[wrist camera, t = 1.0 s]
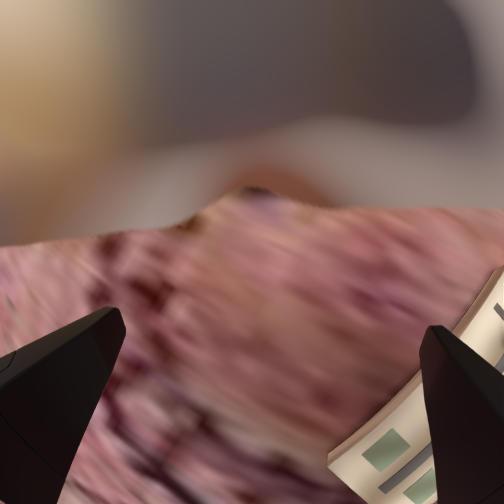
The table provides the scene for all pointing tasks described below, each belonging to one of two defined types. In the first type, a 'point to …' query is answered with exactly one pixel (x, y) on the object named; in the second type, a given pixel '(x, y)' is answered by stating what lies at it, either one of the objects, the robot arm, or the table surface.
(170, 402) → the table surface
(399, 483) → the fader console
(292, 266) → the table surface
